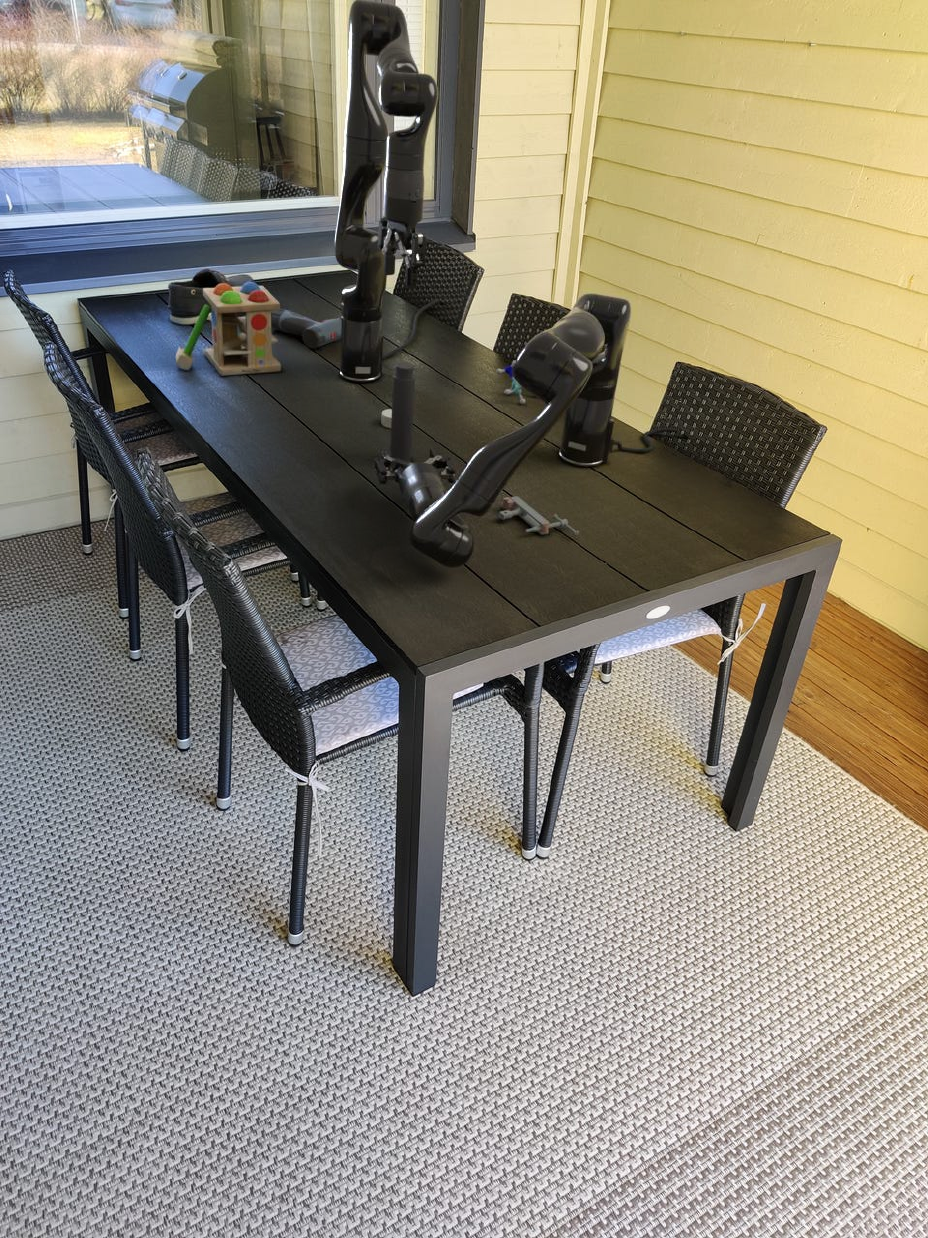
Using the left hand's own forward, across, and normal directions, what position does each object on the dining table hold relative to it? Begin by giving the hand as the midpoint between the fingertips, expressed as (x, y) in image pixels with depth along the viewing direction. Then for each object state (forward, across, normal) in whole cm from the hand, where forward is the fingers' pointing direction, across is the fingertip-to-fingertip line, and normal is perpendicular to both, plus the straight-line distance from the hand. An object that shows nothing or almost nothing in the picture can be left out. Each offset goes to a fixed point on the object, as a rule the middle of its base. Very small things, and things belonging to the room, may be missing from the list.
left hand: (399, 280), depth 194 cm
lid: (+28, 0, 0) cm, 28 cm away
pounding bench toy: (+30, -44, -20) cm, 57 cm away
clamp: (+30, +50, +1) cm, 58 cm away
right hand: (+24, +26, -12) cm, 37 cm away
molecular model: (+30, -2, +35) cm, 46 cm away
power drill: (+30, -58, +9) cm, 66 cm away
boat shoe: (+30, -85, -7) cm, 90 cm away
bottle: (+30, +16, -8) cm, 35 cm away
